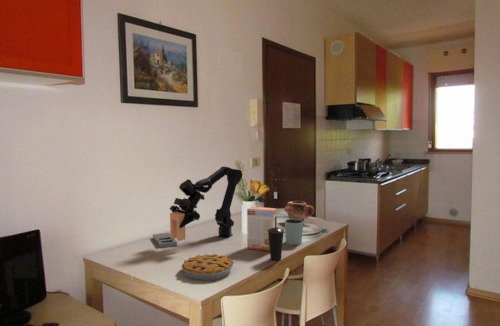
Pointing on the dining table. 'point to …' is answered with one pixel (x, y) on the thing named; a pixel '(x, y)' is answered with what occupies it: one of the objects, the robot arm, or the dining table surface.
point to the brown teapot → (298, 210)
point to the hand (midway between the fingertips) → (175, 226)
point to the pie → (207, 267)
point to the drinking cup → (275, 242)
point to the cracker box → (259, 227)
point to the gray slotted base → (164, 240)
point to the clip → (177, 226)
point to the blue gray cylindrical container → (293, 231)
